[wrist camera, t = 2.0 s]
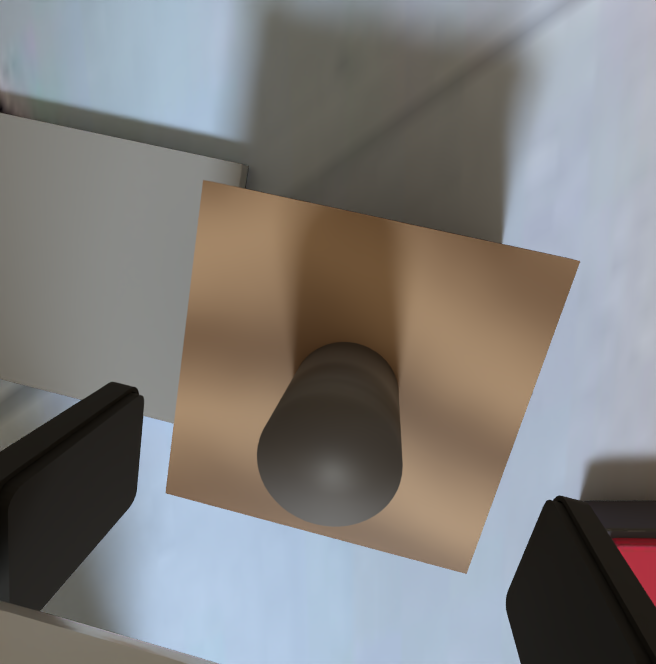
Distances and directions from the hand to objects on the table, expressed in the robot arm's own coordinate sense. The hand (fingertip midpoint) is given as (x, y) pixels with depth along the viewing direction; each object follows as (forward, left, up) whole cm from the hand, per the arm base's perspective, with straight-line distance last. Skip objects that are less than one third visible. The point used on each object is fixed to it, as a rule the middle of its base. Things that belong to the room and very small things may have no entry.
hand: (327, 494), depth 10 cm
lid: (0, 0, -9) cm, 9 cm away
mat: (0, +15, -15) cm, 21 cm away
